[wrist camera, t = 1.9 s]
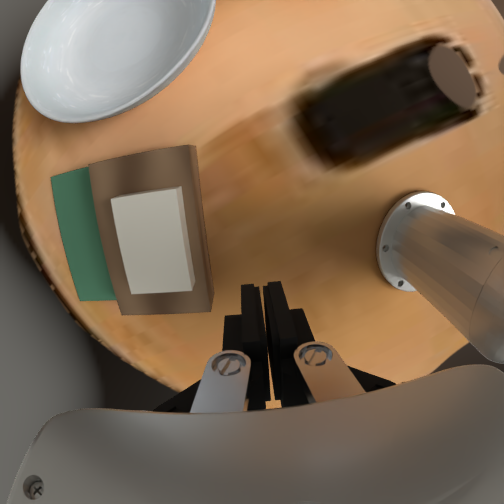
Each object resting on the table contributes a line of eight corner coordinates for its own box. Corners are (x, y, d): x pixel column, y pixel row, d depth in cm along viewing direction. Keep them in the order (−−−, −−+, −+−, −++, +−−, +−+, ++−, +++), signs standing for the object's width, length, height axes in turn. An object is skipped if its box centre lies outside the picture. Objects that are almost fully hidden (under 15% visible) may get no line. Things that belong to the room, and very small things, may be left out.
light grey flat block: (181, 186, 23) (176, 188, 22) (195, 281, 26) (192, 290, 25) (119, 195, 23) (110, 198, 21) (138, 284, 26) (131, 294, 24)
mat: (105, 162, 26) (103, 162, 26) (131, 297, 31) (130, 299, 31) (52, 176, 26) (50, 177, 26) (81, 299, 31) (80, 300, 31)
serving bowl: (220, -38, 18) (217, -71, 12) (223, 112, 25) (217, 99, 19) (64, 3, 18) (38, -15, 11) (50, 144, 25) (13, 146, 18)
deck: (195, 146, 26) (188, 144, 22) (214, 293, 31) (210, 311, 28) (106, 162, 26) (88, 164, 22) (133, 297, 31) (121, 315, 28)
